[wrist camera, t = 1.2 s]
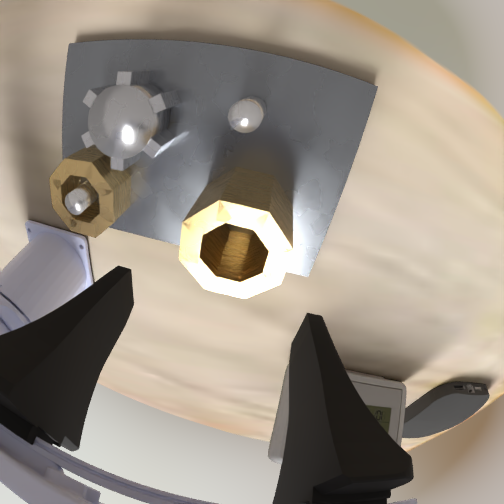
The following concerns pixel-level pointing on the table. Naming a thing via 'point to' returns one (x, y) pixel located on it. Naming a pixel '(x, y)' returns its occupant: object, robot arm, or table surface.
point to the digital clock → (373, 395)
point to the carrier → (201, 135)
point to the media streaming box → (443, 408)
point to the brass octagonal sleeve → (239, 234)
